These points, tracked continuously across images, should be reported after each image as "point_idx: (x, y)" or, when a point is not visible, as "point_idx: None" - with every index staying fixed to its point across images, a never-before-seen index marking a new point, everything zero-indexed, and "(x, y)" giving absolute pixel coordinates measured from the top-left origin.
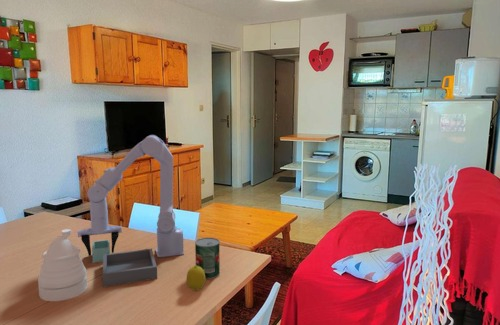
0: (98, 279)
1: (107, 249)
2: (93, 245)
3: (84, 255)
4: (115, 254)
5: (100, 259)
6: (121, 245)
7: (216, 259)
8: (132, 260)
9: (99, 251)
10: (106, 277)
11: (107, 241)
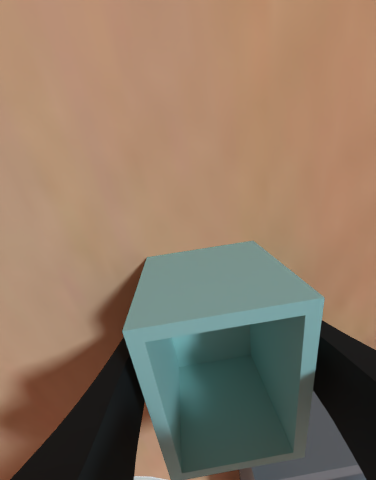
0: (222, 474)
1: (281, 438)
2: (162, 425)
3: (87, 271)
4: (322, 477)
5: (212, 372)
6: (345, 108)
7: None
8: None
9: (221, 436)
10: None
11: (291, 306)
